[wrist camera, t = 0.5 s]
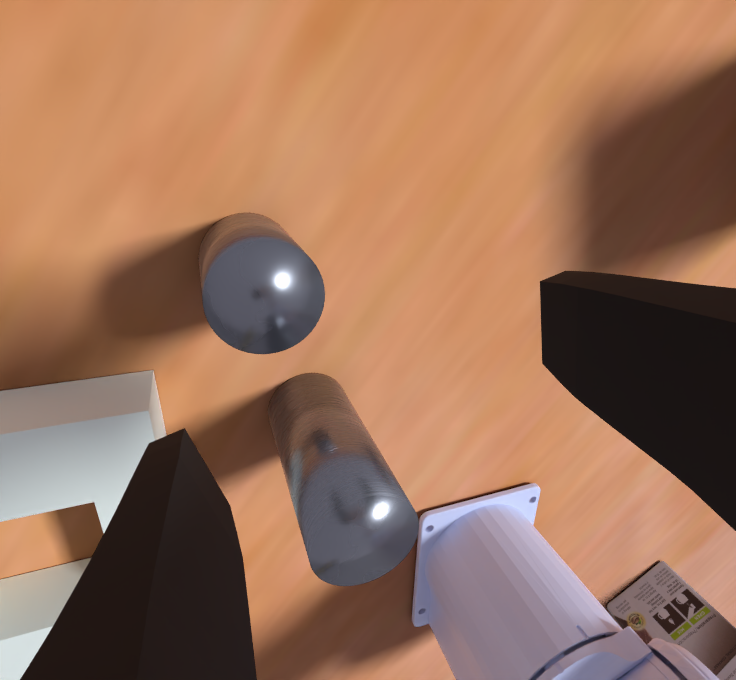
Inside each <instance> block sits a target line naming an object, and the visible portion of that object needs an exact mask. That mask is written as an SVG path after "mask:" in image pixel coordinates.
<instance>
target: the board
mask: <svg viewBox="0 0 736 680" xmlns="http://www.w3.org/2000/svg"><path fill="white" fill-rule="evenodd" d="M165 436H167V435H166V430H165V425H164V420H163V415H162V410H161V405H160V400H159V395H158V390H157V385H156V380H155V375H154V370H150V371H142V372H135V373H128V374H120V375H113V376H106V377H99V378H91V379H84V380H77V381H69V382H62V383H55V384H48V385H40V386H33V387H26V388H18V389H11V390H4V391H0V522H2V521H6V520H11V519H16V518H21V517H26V516H30V515H35V514H40V513H45V512H49V511H54V510H59V509H64V508H68V507H73V506H78V505H83V504H88V503H92V502H94V503H95V507H96V510H97V513H98V516H99V520H100V523H101V526H102V530H103V533H105V531H106V529H107V527H108V525H109V523H110V521H111V519H112V517H113V515H114V513H115V511H116V509H117V507H118V505H119V503H120V501H121V499H122V497H123V494H124V492H125V490H126V488H127V486H128V484H129V482H130V480H131V478H132V476H133V474H134V472H135V470H136V468H137V466H138V464H139V462H140V460H141V458H142V456H143V454H144V452H145V450H146V448H147V446H148V444H149V443H150V442H153V441H155V440H158V439H160V438H162V437H165ZM90 560H91V558H87V559H83V560H79V561H75V562H71V563H67V564H63V565H58V566H54V567H50V568H46V569H42V570H38V571H34V572H29V573H25V574H21V575H17V576H13V577H9V578H5V579H0V680H20V679H21V677H22V676H23V674H24V672H25V671H26V669H27V668H28V666H29V664H30V663H31V661H32V660H33V658H34V656H35V655H36V653H37V652H38V650H39V648H40V647H41V645H42V644H43V642H44V640H45V639H46V637H47V635H48V634H49V632H50V630H51V629H52V627H53V625H54V623H55V622H56V620H57V618H58V616H59V615H60V613H61V611H62V609H63V608H64V606H65V604H66V602H67V600H68V599H69V597H70V595H71V593H72V592H73V590H74V588H75V586H76V585H77V583H78V581H79V579H80V577H81V576H82V574H83V572H84V570H85V569H86V567H87V565H88V563H89V562H90Z"/></svg>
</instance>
